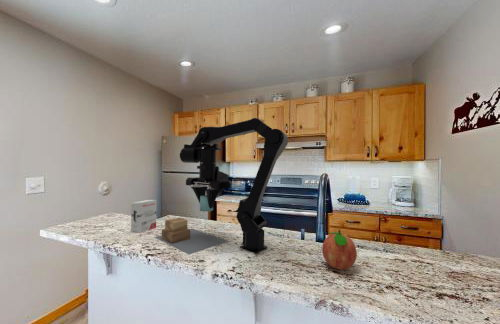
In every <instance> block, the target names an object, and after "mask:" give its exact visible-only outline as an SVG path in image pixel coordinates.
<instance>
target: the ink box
mask: <svg viewBox="0 0 500 324" xmlns="http://www.w3.org/2000/svg"><path fill="white" fill-rule="evenodd" d="M130 209H131V211H130V213H131V215H130V216H131V217H130V219H131V220H130V224H131V225H130V232H131V233H136V234H141V233H145V232H147V231H151V230H154V229H156V228H157V200H156V199H145V200H141V201H134V202H131V208H130Z"/></svg>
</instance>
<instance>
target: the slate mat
mask: <svg viewBox="0 0 500 324" xmlns="http://www.w3.org/2000/svg"><path fill="white" fill-rule="evenodd" d="M189 229H190V239H187V240H184V241H180V242H176V243H173V244H171V243H169V242H167V241H165V240H163V239H162V234H161V235H158V236H154V239H157V240H159V241H161V242H164V243H165V244H166V245H169V246H171V247H173V248H175V249H177V250H179V251H181V252H183V253H185V254H187V255H191V254H195V253H198V252H201V251H204V250H207V249H209V248H213V247H216V246H219V245H222V244H225V243H228V242H229V240H227V239H224V238H221V237H218V236H215V235H212V234H209V233H207V232H204V231H201V230H198V229H195V228H189Z"/></svg>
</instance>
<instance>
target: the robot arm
mask: <svg viewBox="0 0 500 324" xmlns="http://www.w3.org/2000/svg"><path fill="white" fill-rule="evenodd" d="M253 133H257V134H258V135H259V136H261V137H262V138H264V143H263V156H262V160H261V162H260V164H259V167H258V169H257V172H256V174H255V178H254V181H253V183H252V186H251V188H250V192H249V194H248V196H247V197H246V198H243V199H241V200H239V204H238V208H237V209H236V210H235V212H236V219H237V222H238V223H239V225H240V228H241V231H242V245H241V246H239V248H240V249H243V250H245V251H247V252H250V253H253V254H257V253H260V252H262V251H264V250H266V249H268V246H267V245H265V230H264V228H265V227H266V224H267V220H266V219H265V217H264V216H263V215H261V211H262V200H263V197H264V194H265V191H266V189H267V186H268V183H269V181H270V178H271V176H272V173H273V170H274V168H275V166H276V162H277V160H278V159H279V158H280V156H281V155H282V154H283V152H284V151H285V149H286V147H287V146H288V143H289V137H288V136H287V134H286V133H285V132H284V131H282V130H281V129H279V128H271V127H270V126H269V125H268V124H266V123H264V121H263V120H261V119H260V118H257V117H253V118H251V119H248V120H247V119H246V120H244V121H239V122H235V123H232V124H226V125H223V126H203V127H201V128H199V131H198V132H197V135H196V136H195V138H194V139H193V141H192V143H191V144H184V145H183V147H182V149H181V150H180V152H179V159H180V162H182V163H184V164H186V163H187V164H189V163H190V164H198V163H199V165H196V169H197V170H199V171H198V172H199V175H198V177H195V176H194V177H187V179H186V180H185V185H186V186H190V188H191V189H192V190H193V191H192V192H194V194H195V197H196V199H197V201H198V203H199V204H200V196H202V195H207V199H208V204H209V208H213V209H214V205H215V203H216V199H217V196H218V195H219V194H220V192H221V191H224V189H225V190H227V189H231V188H232V186H231V185H232V183H231V181H230V180H229V174H227V173H225V172H223V171H220V168H219V165H218V166H217V152H219V151H220V152H221V151H222V150H223V148H222V147H220V146H219V143H222V142H223V141H224V140H227V139H230V138H234V137H239V136H244V135H246V134H253Z"/></svg>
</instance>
